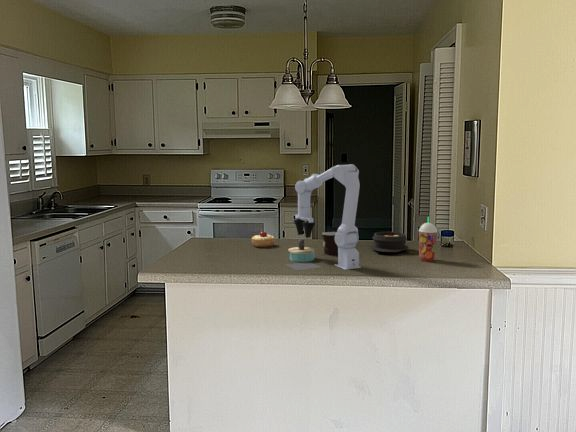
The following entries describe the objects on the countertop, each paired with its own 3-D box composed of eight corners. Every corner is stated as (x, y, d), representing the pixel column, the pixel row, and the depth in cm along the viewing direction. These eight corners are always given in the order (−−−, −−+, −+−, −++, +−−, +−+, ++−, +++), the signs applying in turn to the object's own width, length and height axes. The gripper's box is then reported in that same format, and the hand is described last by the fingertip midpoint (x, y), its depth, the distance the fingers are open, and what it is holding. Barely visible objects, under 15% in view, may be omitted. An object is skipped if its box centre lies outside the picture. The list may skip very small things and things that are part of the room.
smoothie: (424, 257, 255) (425, 214, 252) (440, 260, 249) (441, 216, 246) (414, 260, 249) (415, 216, 246) (430, 263, 243) (431, 218, 241)
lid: (319, 252, 249) (319, 240, 248) (296, 255, 243) (296, 243, 243) (305, 247, 260) (305, 236, 259) (283, 250, 254) (283, 239, 253)
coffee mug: (338, 256, 259) (339, 235, 258) (320, 255, 261) (320, 234, 259) (341, 251, 270) (341, 231, 269) (324, 250, 272) (324, 230, 271)
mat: (322, 268, 235) (322, 267, 235) (296, 271, 230) (296, 270, 230) (309, 262, 246) (309, 261, 246) (284, 265, 241) (284, 264, 241)
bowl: (318, 260, 250) (318, 252, 249) (296, 263, 245) (296, 254, 244) (307, 256, 260) (307, 247, 259) (285, 258, 255) (285, 250, 254)
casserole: (407, 256, 257) (407, 239, 256) (367, 254, 262) (367, 237, 261) (410, 246, 281) (410, 230, 280) (373, 245, 286) (373, 229, 285)
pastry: (257, 250, 278) (257, 232, 276) (248, 245, 288) (247, 229, 287) (278, 246, 283) (278, 230, 282) (269, 242, 294) (268, 226, 292)
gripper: (289, 205, 257) (289, 234, 259) (303, 209, 244) (303, 239, 246) (302, 204, 260) (302, 233, 262) (317, 208, 247) (317, 237, 249)
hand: (304, 236), depth 254 cm, fingers open, 7 cm apart
